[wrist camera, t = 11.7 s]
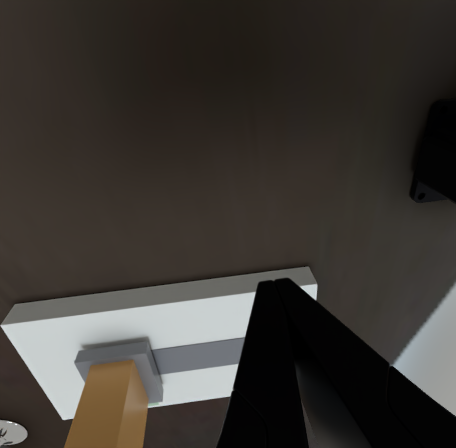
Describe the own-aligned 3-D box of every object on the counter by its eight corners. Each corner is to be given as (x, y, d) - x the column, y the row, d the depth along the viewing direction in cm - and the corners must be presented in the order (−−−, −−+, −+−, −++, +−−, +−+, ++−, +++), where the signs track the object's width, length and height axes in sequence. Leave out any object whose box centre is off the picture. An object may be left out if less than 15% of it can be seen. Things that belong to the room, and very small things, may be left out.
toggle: (147, 341, 23) (128, 467, 16) (163, 389, 26) (152, 512, 19) (78, 350, 22) (29, 481, 16) (102, 398, 26) (70, 524, 19)
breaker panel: (308, 266, 24) (317, 284, 22) (302, 365, 30) (309, 385, 28) (15, 304, 23) (-1, 326, 21) (71, 397, 29) (62, 421, 27)
